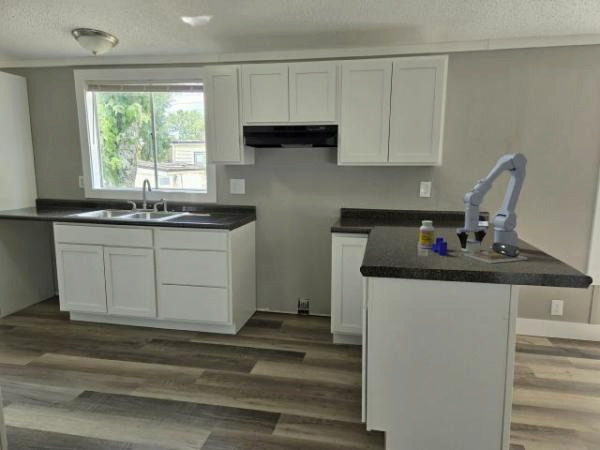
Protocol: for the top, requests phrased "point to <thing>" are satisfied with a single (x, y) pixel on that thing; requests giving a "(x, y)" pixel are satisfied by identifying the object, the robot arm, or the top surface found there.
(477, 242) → the block
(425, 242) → the supplement bottle
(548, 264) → the top surface
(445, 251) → the cable clip
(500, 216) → the robot arm
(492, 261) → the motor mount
